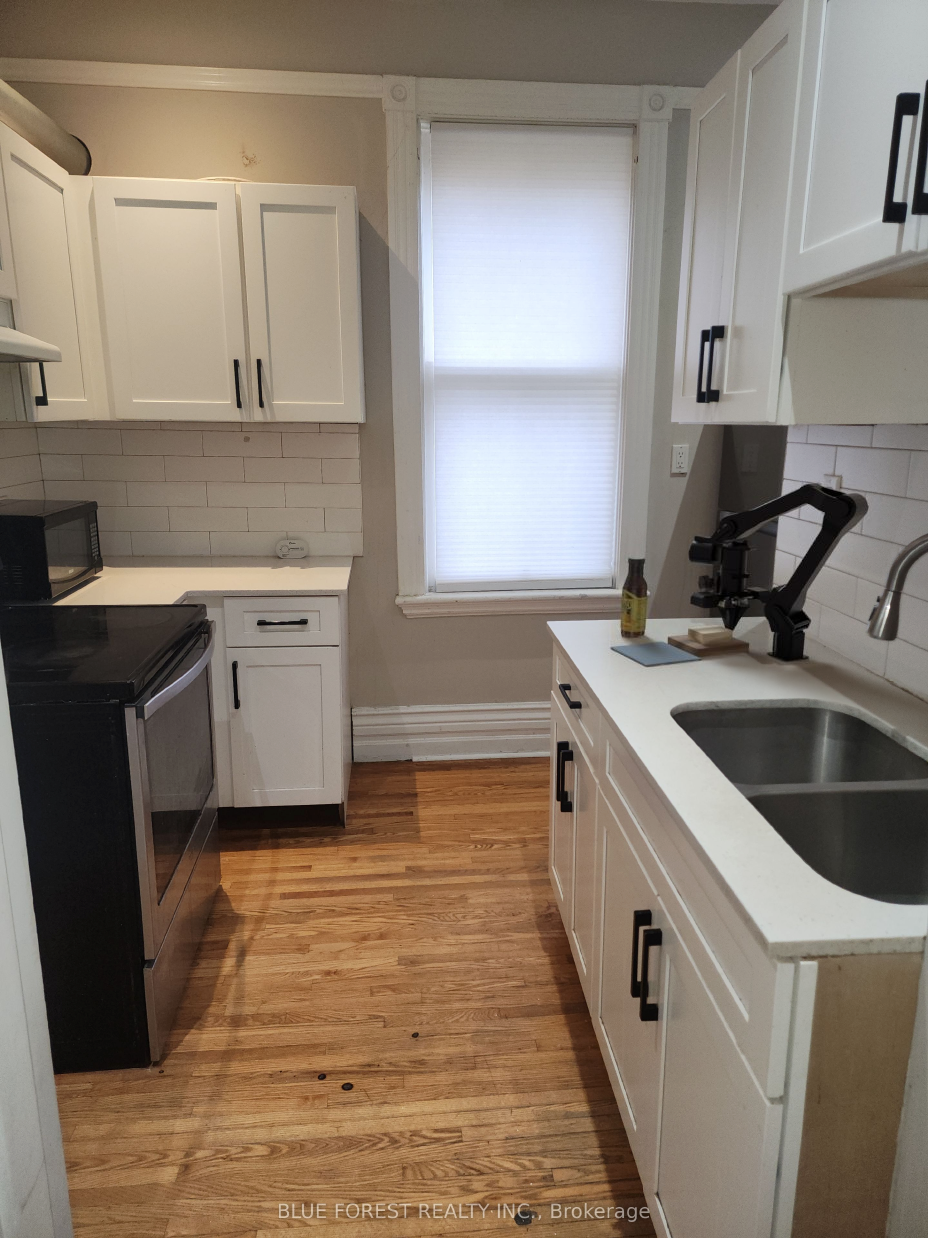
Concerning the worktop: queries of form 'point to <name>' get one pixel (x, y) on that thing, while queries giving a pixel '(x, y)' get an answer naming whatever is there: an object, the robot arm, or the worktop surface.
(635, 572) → the sauce bottle
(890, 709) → the worktop surface
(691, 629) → the beech tile
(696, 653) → the walnut board
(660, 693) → the worktop surface
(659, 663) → the rubber mat
